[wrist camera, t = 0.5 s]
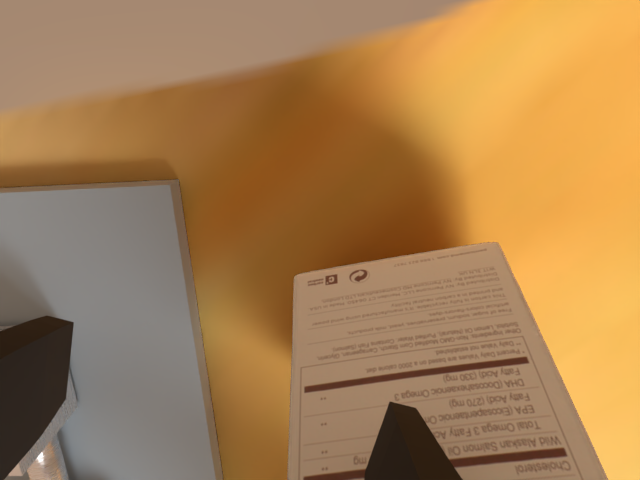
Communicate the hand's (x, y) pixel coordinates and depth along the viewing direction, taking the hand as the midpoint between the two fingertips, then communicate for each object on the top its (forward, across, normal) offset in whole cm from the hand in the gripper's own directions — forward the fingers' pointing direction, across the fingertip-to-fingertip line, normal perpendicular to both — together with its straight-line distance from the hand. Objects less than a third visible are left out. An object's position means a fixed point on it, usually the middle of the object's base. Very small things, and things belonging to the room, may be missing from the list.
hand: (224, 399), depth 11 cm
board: (+10, +8, +10) cm, 16 cm away
